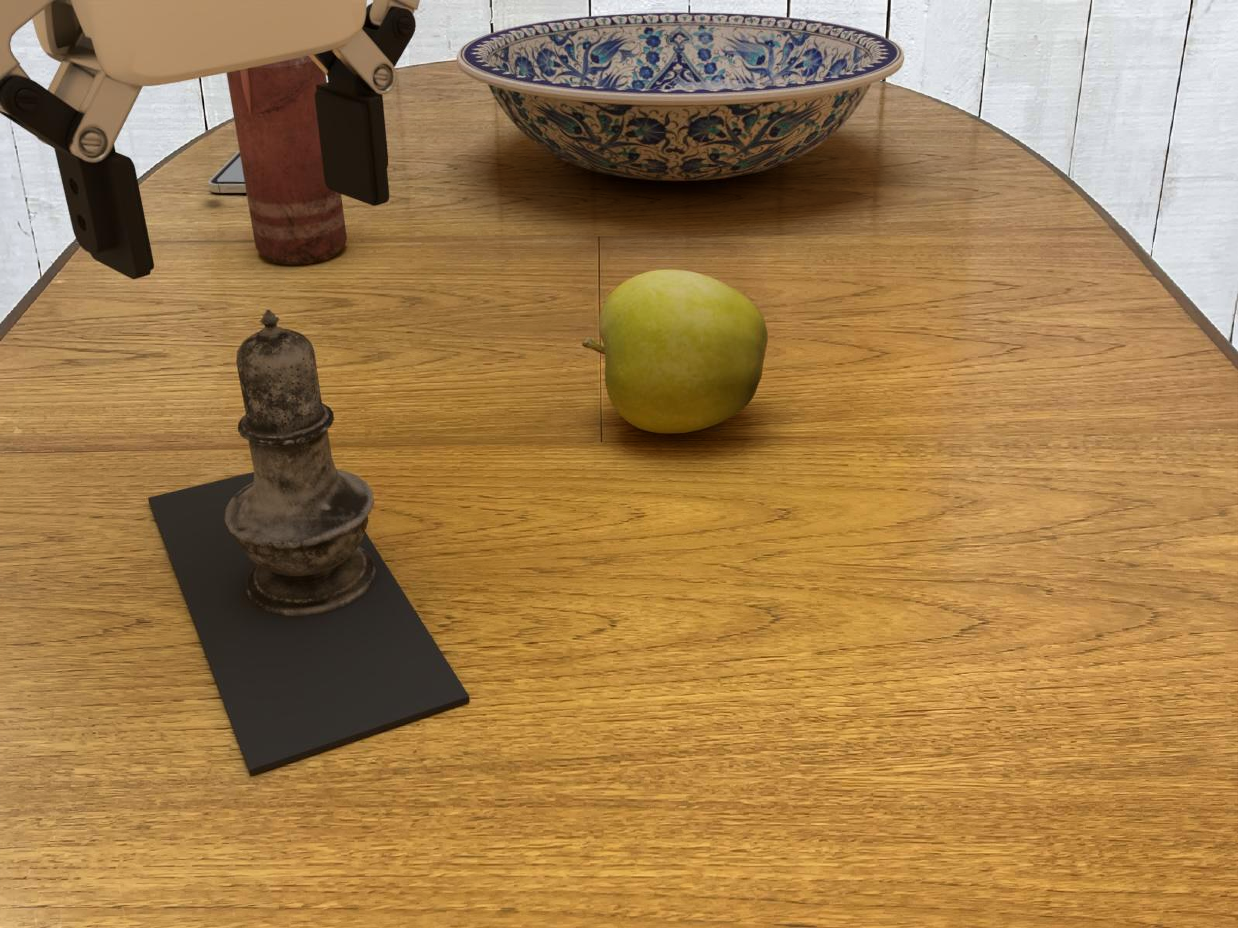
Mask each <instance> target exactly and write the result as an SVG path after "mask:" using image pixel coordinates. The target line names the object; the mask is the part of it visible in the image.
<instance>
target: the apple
mask: <svg viewBox="0 0 1238 928" xmlns="http://www.w3.org/2000/svg"><path fill="white" fill-rule="evenodd" d="M598 317H599V318H598V331H599V336H600V339H601V341H602V343H603V345H602V344H600V343H598V342H596V341H595V340H593V339H592V337H591V336H588V335H587V336H586V337H585V340H584V341H583V342H581V346H582V347H584V348H586V349H590V350H593V351H595V352H598V354H599V353H600V354H601V355H604V366H605V367H604V381H605V382H604V383H605V387H606V392H607V396H608V399H609V400H610V403H611V404H612V407H613V408H614V409H615V411H616V412H617V413H618V414H619V416H620V417H621V418H622V419H623V420H625V421H626V422H628V424H630V425H632V426H634V427H635V428H638V429H640V430H643V431H646V432H650V433H656V434H682V433H692V432H696V431H700V430H704V429H707V428H710V427H713V426H715V425H719V424H721V423H724V422H725V421H727V420H730V419H732V418H733V417H735V416H737V415H738V414H739V413H740V412H742V411H744V409H745V408H746V407H747V406H748V405H749V404H750V402H751V401H752V400H753V398H754V397H755V395H756V393H757V390H758V387H759V384H760V382H761V379H762V376H763V369H764V362H765V357H766V351H767V345H768V341H769V338H768V337H769V336H768V335H769V333H768V329H767V324H766V323H767V322H766V320H765V317H764V315H763V313H762V311H761V310H760V309H759V307H758V306H757V305H756V304H755V303H754V302H753V301H752V300H751V299H750V298H748V297H747V296H746V295H745V294H743V293H741V292H740V291H738V290H736V289H735V288H734V287H731V286H730V285H727V284H725V283H724V282H722V281H720V280H718V279H716V278H713V277H711V276H708V275H705V274H702V273H699V272H696V271H690V270H683V269H655V270H649V271H646V272H643V273H640V274H636V275H635V276H633V277H632V276H631V277H630V278H629V279H627V280H625V281H624V282H622V283H621V284H619V285H618V286H617V287H616V288H615V289H614V290H613V291H612V292H611V293H610V294H609V295H608V296H607V298H606V299H605V301H604V302H603V304H602V307H601V309H600V312H599V316H598Z"/></svg>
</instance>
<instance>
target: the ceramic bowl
mask: <svg viewBox="0 0 1238 928" xmlns="http://www.w3.org/2000/svg"><path fill="white" fill-rule="evenodd" d="M904 61H905V52H904V50H903V48H902V47H901V45H899V44H898V43H896V42H895V41H893V40H891V39H889V38H888V37H885V36H882V35H880V34H877V33H874V32H871V31H868V30H864V29H860V28H857V27H852V26H848V25H844V24H838V23H832V22H827V21H819V20H814V19H807V18H797V17H788V16H777V15H766V14H751V13H750V14H749V13H731V12H729V13H728V12H640V13H639V12H638V13H637V12H636V13H619V14H603V15H602V14H601V15H592V16H579V17H570V18H562V19H553V20H547V21H540V22H534V23H528V24H523V25H518V26H512V27H508V28H505V29H500V30H497V31H494V32H490V33H487V34H483V35H482V36H479V37H477V38H475V39H473V40H471V41H468V42H467V43H465V44H464V45H462V46H461V47H460V49H459V50H458V51H457V54H456V64H457V67H458V68H459V70H460V71H461V72H462V73H464V74H465V75H466V76H467V77H469V78H472V79H474V80H476V81H478V82H480V83H482V84H485V85H488V88H489V90H490V92H491V94H492V96H493V97H494V99H495V100H496V102H497V104H498V105H499V106H500V108H501V109H502V111H503V112H504V113H505V115H506V116H507V117H508V119H509V120H510V121H511V122H512V124H514V126H516V128H518V129H519V130H520V131H521V132H522V133H523V134H524V135H525V136H527V138H529V140H531V141H532V142H533V143H535V144H536V145H537V146H539V148H542V149H543V150H544V151H546V152H548V153H549V154H551V155H553V156H554V157H556V158H558V159H560V160H562V161H564V162H567V163H569V164H572V165H574V166H577V167H579V168H583V169H587V170H590V171H593V172H596V173H599V174H605V175H611V176H615V177H622V178H627V179H628V178H629V179H637V180H649V181H668V182H688V181H690V182H691V181H705V180H706V181H707V180H720V179H727V178H734V177H741V176H745V175H752V174H755V173H758V172H759V173H760V172H762V171H766V170H770V169H773V168H777V167H780V166H782V165H785V164H788V163H790V162H792V161H794V160H796V159H798V158H801V157H802V156H804V155H805V154H808V153H809V152H811V151H812V150H814V149H815V148H816V147H818V146H819V145H821V144H823V143H824V142H825V141H826V140H828V139H829V138H830V137H831V136H832V135H834V133H836V132H837V131H838V130H839V129H840V128H841V127H842V126H843V125H844V124H845V123H846V121H848V120H849V119H850V117H851V116H852V115H853V114H854V112H855V111H856V110H857V109H858V107H859V106H860V104H861V103H862V101H864V98H865V96H866V95H867V93H868V92H869V89H870V88H871V86H872V84H875V83H878V82H880V81H883V80H885V79H887V78H890V77H891V76H893V75H895V73H897V72H898V71H899V70H900V69H902V67H903V64H904Z"/></svg>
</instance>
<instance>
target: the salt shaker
mask: <svg viewBox="0 0 1238 928" xmlns="http://www.w3.org/2000/svg"><path fill="white" fill-rule="evenodd" d="M259 321H260V324H262V325H263V326H264V328H262V329H260V330H259V331H256V332H255V333H253V334H251V335H250V336H248V337H247V338H246V339H245V340H243V341H242V342H241V344H240V345H239V347H238V349H237V351H236V362H235V363H236V368H237V374H238V379H239V385H240V390H241V395H242V401H243V407H244V412H245V413H244V415H242V417H241V418H240V420H239V421H238V423H237V431H238V433H239V435H240V436H241V437H242V438H243V439H245V440H246V441H247V442H248V447H249V451H250V456H251V457H250V458H251V461H252V468H253V472H254V482H253V483H251V484H249V485H247V486H246V487H244V488H242V489H241V490H240V491H239V492H238V493H237V494H236V495H235V496H234V497H233V498H232V499H231V500H230V502H229V504H228V506H227V507H226V509H225V523H226V525H227V527H228V529H229V531H230V532H231V533H232V534H234V535H235V536H236V537H237V539H238V541H239V544H240V546H241V547H242V548H243V550H244V551H245V552H246V554H247V555H248V556H249V558H250V559H251V560H252V561H254V562H255V563H256V565H255V566H254V567H253V568H252V569H251V571H250V573H249V575H248V577H247V579H246V591H247V593H248V595H249V597H250V599H251V601H253V602H254V603H255V604H256V605H257V606H258V607H260V608H262V609H265V610H267V611H269V612H272V613H277V614H282V615H291V616H305V615H312V614H319V613H324V612H327V611H331V610H334V609H337V608H340V607H342V606H344V605H346V604H348V603H350V602H352V601H354V600H355V599H357V598H358V597H359V596H361V595H362V594H363V593H365V592H366V590H367V589H368V588H369V587H370V585H371V584H372V583H373V580H374V577H375V574H376V569H375V561H374V560H373V558H372V557H371V555H370V554H369V553H368V552H367V551H365V550H364V549H362V548H361V547H359V545H360V544H361V541H362V539H363V536H364V533H365V532H366V530H367V527H368V524H369V516H370V514H371V512H372V510H373V507H374V504H375V500H374V499H375V498H374V491H373V489H372V488H371V486H370V485H369V483H368V482H366V481H365V480H364V479H363V478H361V477H359V476H358V475H357V474H354V473H352V472H348V471H347V470H342V469H338V468H336V465H335V463H334V459H333V457H332V449H331V443H330V436H329V435H330V434H329V428H330V427H332V426H333V423H334V421H335V414H334V411H333V410H332V408H331V407H330V406H328V405H327V404H325V403H323V402H322V393H321V388H320V380H319V374H318V373H319V372H318V367H317V359H316V354H315V349H314V346H313V344H312V342H311V341H310V340H309V339H308V338H307V337H306V336H305V335H304V334H302V333H300V332H299V331H296V330H292V329H289V328H283V326H282V327H281V326H278V325H277V324H278V323H279V321H280V318H279V317H278V316H276V314H275V313H274V312H272V311H271V310H270V309H266V310H265V313H264V314H263V315H262V318H261V319H260V320H259Z"/></svg>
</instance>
